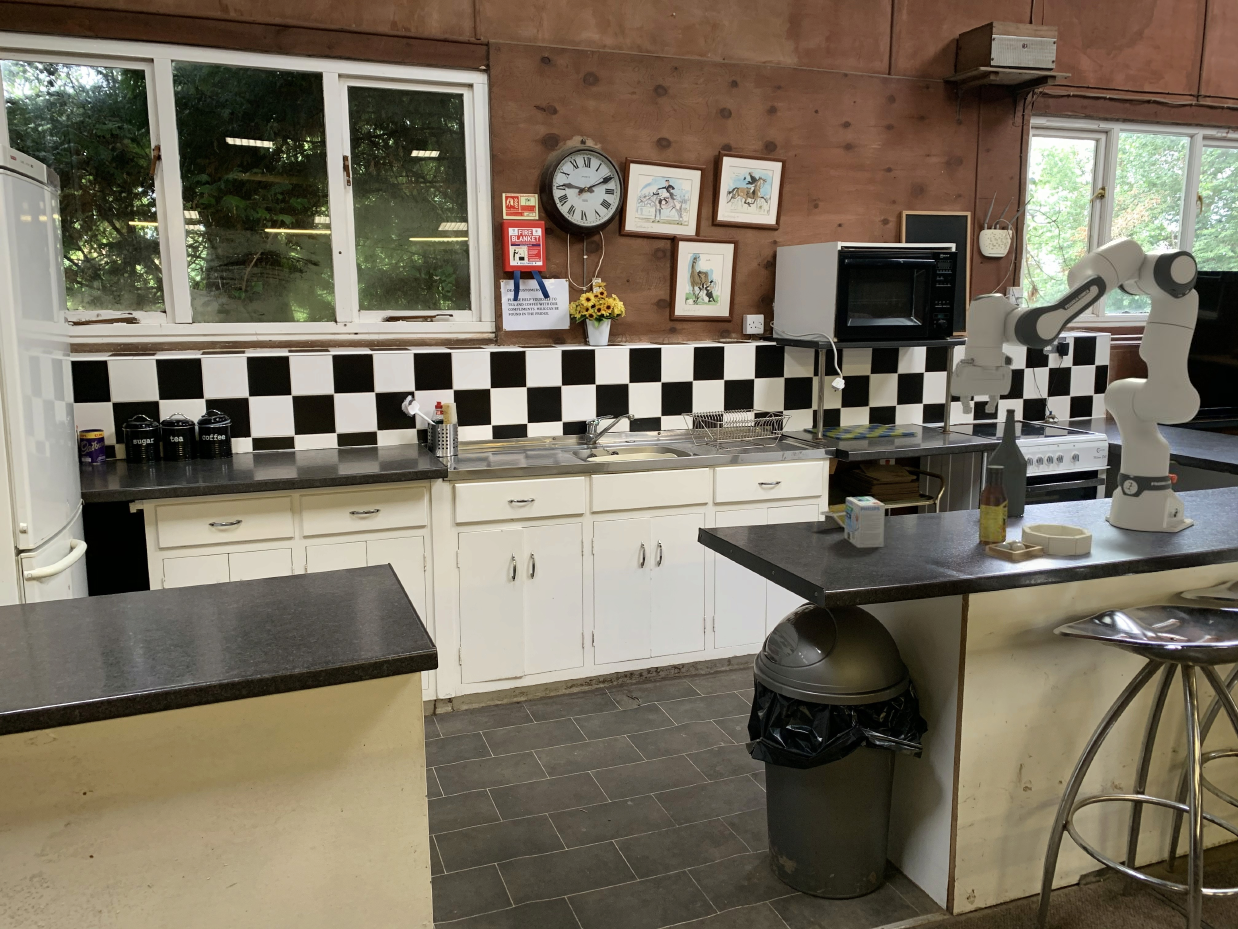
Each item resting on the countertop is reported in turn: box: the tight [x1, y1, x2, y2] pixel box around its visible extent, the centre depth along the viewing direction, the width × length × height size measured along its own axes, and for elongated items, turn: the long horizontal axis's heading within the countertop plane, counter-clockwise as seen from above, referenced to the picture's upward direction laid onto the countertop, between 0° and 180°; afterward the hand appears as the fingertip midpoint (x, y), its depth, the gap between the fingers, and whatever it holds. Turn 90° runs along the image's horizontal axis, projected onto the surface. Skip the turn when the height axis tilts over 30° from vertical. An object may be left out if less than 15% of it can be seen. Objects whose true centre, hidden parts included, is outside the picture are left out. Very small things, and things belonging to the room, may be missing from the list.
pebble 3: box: [1012, 543, 1026, 552], centre depth 217 cm, size 3×3×3 cm
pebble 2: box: [1010, 539, 1023, 550], centre depth 220 cm, size 3×3×3 cm
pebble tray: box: [985, 539, 1044, 563], centre depth 218 cm, size 10×8×3 cm
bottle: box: [987, 408, 1028, 519], centre depth 263 cm, size 10×10×30 cm
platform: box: [819, 503, 846, 530], centre depth 250 cm, size 12×18×7 cm, turn 119°
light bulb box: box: [844, 496, 886, 549], centre depth 234 cm, size 11×7×11 cm, turn 5°
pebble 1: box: [997, 542, 1010, 551], centre depth 218 cm, size 3×3×3 cm
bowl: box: [1020, 523, 1093, 556], centre depth 224 cm, size 14×14×5 cm
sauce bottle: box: [978, 465, 1008, 547], centre depth 228 cm, size 7×6×20 cm
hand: (978, 413), depth 238 cm, fingers open, 8 cm apart
